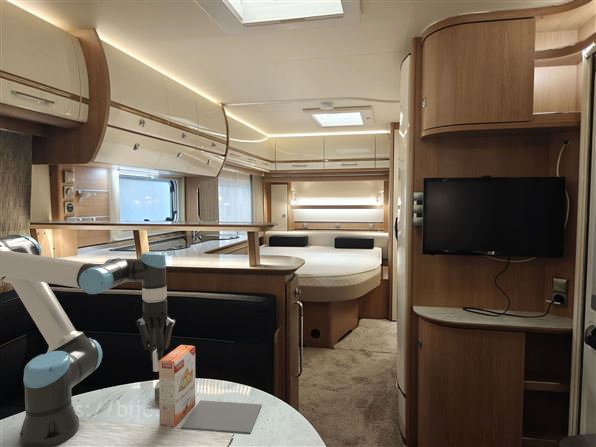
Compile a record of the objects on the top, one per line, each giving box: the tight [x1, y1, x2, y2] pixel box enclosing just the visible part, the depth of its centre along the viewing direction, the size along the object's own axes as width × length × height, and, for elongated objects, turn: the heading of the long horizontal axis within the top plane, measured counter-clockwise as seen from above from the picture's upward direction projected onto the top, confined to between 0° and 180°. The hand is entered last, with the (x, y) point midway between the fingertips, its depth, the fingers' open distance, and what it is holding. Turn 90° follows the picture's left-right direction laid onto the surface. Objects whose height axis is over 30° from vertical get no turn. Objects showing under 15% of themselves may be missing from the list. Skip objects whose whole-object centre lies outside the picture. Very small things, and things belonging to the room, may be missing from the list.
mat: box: [180, 399, 263, 434], centre depth 126 cm, size 22×16×1 cm
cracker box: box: [158, 344, 196, 427], centre depth 127 cm, size 14×6×21 cm, turn 168°
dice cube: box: [154, 381, 159, 403], centre depth 138 cm, size 5×5×5 cm
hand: (157, 369), depth 127 cm, fingers closed
